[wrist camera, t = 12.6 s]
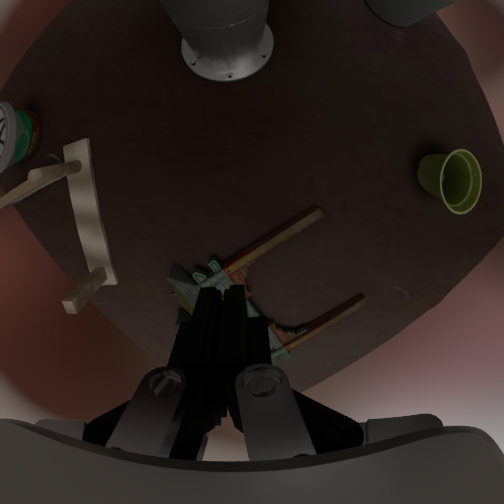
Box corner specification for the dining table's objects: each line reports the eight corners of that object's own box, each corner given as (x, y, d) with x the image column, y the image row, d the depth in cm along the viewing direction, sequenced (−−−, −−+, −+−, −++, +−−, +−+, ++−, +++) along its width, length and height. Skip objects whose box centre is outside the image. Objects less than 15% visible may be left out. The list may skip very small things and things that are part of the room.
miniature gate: (378, 322, 43) (235, 400, 46) (365, 307, 48) (234, 380, 51) (308, 185, 34) (132, 301, 38) (298, 181, 39) (142, 285, 43)
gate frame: (65, 146, 33) (17, 152, 22) (89, 137, 33) (41, 141, 22) (96, 283, 43) (63, 320, 32) (118, 282, 42) (88, 321, 32)
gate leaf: (69, 164, 33) (42, 170, 27) (71, 174, 34) (45, 181, 28) (15, 194, 34) (-9, 204, 28) (18, 202, 35) (-6, 213, 29)
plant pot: (422, 210, 39) (453, 226, 31) (399, 162, 36) (431, 169, 28) (455, 182, 37) (487, 193, 29) (435, 135, 34) (469, 138, 26)
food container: (40, 172, 35) (2, 183, 25) (20, 167, 34) (-17, 177, 24) (53, 103, 30) (14, 100, 21) (32, 102, 29) (-6, 101, 20)
